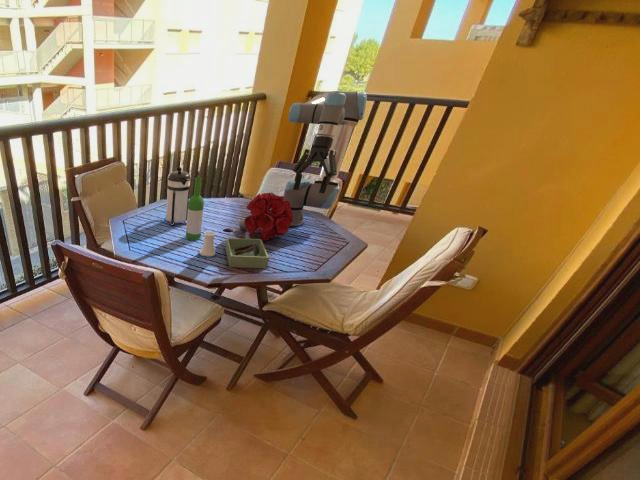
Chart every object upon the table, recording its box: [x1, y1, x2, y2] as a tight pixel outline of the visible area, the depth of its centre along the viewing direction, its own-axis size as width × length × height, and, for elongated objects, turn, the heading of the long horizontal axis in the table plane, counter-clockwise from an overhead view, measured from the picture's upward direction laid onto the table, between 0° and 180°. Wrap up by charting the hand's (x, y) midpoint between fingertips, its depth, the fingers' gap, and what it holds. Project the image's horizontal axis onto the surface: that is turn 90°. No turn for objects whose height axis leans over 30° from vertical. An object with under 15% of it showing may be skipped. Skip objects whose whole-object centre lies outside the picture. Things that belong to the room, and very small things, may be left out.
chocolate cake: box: [234, 242, 260, 256], centre depth 182 cm, size 10×7×12 cm
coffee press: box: [163, 166, 192, 227], centre depth 216 cm, size 17×16×30 cm
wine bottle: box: [185, 177, 205, 241], centre depth 195 cm, size 8×8×30 cm
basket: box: [224, 237, 270, 269], centre depth 182 cm, size 22×17×5 cm
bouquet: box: [238, 192, 294, 242], centre depth 199 cm, size 22×24×30 cm
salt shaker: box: [199, 231, 216, 258], centre depth 184 cm, size 8×8×10 cm
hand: (308, 191), depth 168 cm, fingers open, 13 cm apart
